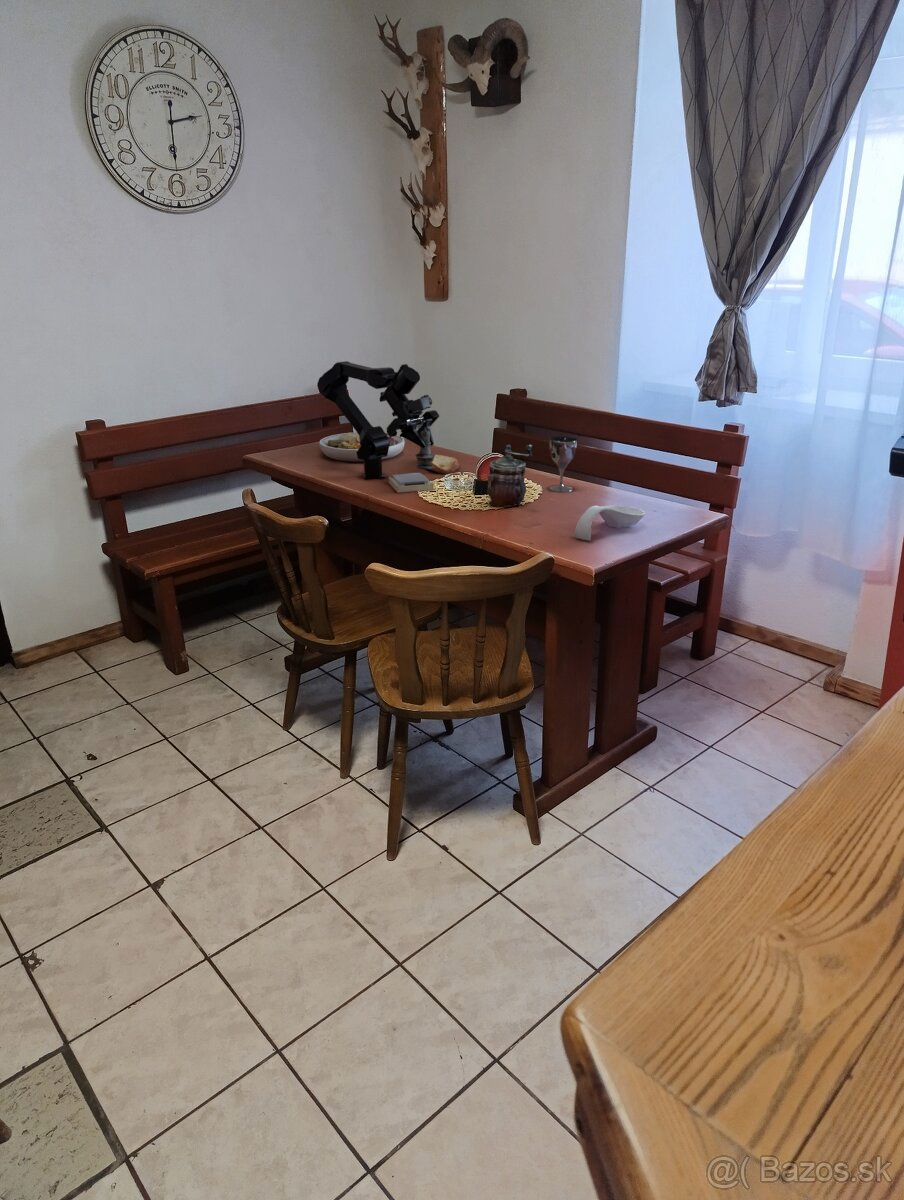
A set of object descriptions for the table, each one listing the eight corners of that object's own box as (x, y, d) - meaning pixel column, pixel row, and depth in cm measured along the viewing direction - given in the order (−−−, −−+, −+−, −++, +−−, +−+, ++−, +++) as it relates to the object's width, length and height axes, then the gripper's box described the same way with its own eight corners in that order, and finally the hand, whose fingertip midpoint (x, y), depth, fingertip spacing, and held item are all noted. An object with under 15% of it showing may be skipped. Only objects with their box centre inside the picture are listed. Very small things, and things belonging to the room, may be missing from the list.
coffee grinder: (518, 514, 221) (520, 448, 214) (477, 504, 230) (477, 440, 224) (546, 504, 230) (548, 441, 223) (505, 495, 239) (507, 433, 232)
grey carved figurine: (436, 465, 246) (436, 425, 242) (433, 469, 241) (433, 429, 236) (416, 464, 247) (416, 424, 242) (414, 469, 242) (413, 428, 237)
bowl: (302, 456, 286) (300, 434, 283) (358, 442, 309) (357, 421, 306) (367, 468, 271) (366, 444, 267) (421, 451, 293) (421, 429, 290)
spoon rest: (613, 515, 220) (615, 489, 217) (652, 523, 212) (654, 497, 210) (562, 535, 204) (563, 508, 201) (602, 546, 196) (604, 517, 194)
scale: (388, 482, 253) (388, 474, 252) (422, 480, 256) (422, 472, 255) (397, 492, 242) (397, 484, 241) (433, 489, 245) (433, 481, 244)
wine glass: (577, 487, 247) (580, 437, 241) (569, 493, 240) (572, 442, 234) (552, 484, 250) (554, 435, 244) (544, 490, 243) (546, 440, 238)
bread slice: (425, 458, 283) (425, 447, 282) (472, 463, 276) (472, 452, 274) (400, 469, 268) (399, 458, 267) (448, 475, 261) (448, 463, 260)
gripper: (393, 390, 230) (423, 434, 228) (434, 382, 244) (463, 424, 242) (373, 415, 238) (402, 458, 236) (414, 406, 251) (442, 446, 249)
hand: (428, 446), depth 241 cm, fingers closed on grey carved figurine, 3 cm apart
